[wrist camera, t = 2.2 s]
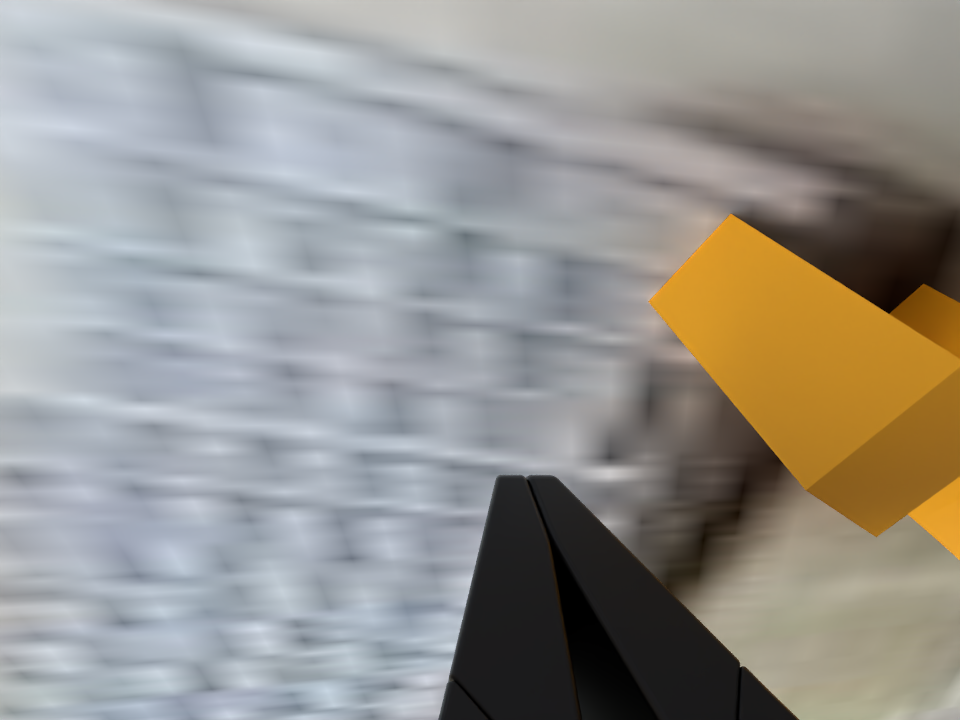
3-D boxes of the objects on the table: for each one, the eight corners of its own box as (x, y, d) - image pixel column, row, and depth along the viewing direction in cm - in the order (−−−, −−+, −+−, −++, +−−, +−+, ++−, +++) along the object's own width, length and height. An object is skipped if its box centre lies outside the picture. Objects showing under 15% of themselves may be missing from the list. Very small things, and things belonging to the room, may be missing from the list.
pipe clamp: (1028, 396, 17) (1323, 581, 12) (901, 490, 19) (1110, 693, 13) (789, 144, 12) (1098, 257, 7) (646, 299, 14) (806, 490, 8)
